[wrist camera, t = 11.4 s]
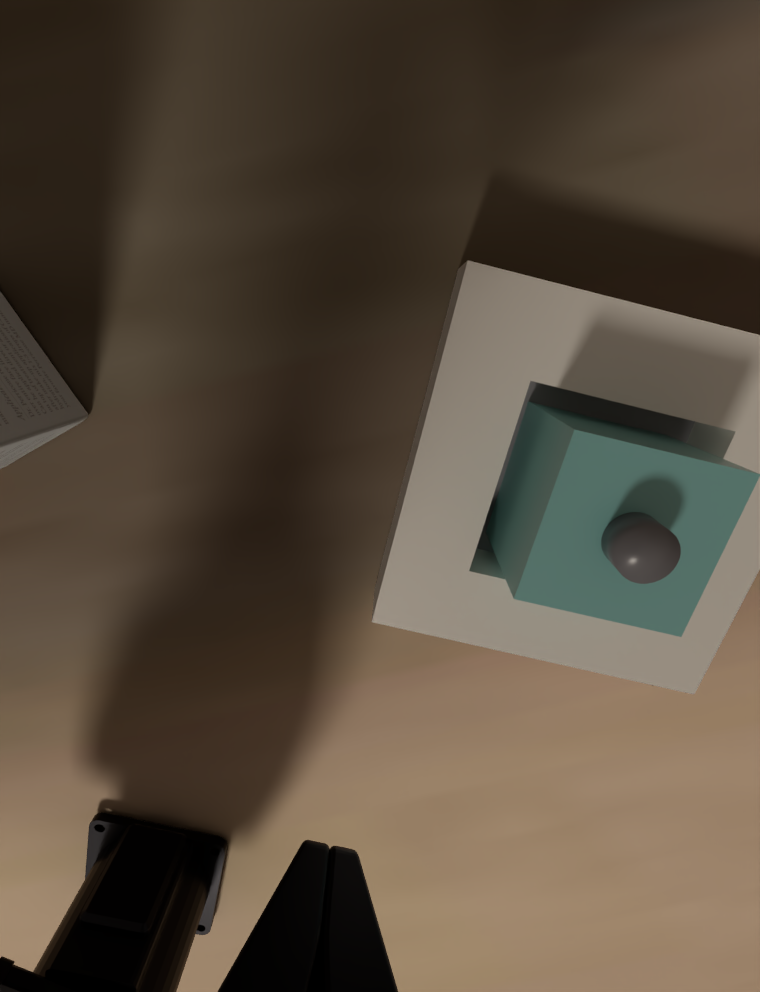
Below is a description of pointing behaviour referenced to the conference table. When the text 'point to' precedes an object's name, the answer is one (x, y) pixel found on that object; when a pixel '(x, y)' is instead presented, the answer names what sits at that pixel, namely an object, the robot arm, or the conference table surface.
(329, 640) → the conference table surface
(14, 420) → the skincare box
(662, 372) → the socket plate
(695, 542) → the plug
